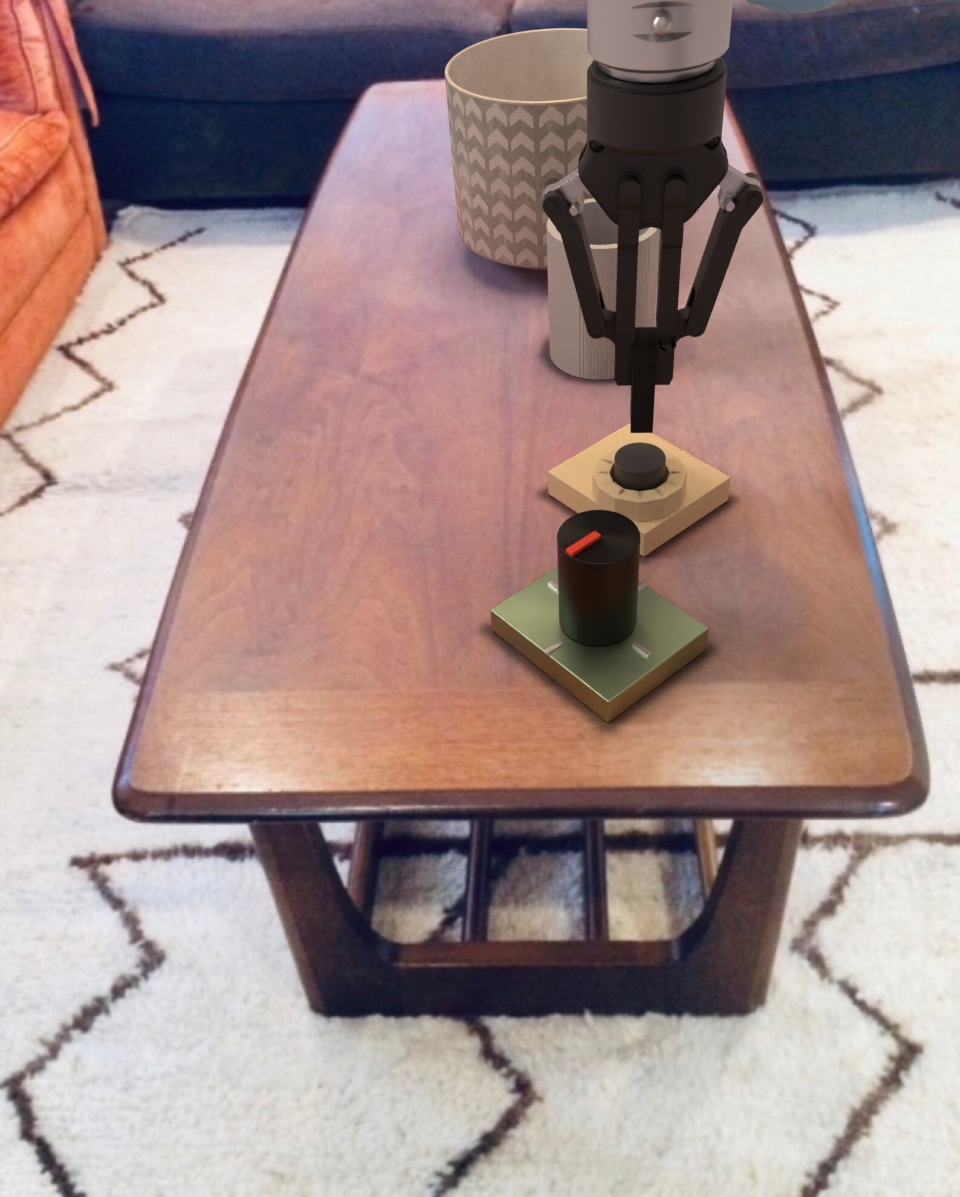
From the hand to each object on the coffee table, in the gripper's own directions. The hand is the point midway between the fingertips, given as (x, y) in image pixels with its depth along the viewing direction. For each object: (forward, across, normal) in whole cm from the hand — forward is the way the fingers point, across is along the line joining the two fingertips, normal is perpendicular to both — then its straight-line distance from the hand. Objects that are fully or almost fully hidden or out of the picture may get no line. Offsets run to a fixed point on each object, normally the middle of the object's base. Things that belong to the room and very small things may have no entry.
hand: (641, 421), depth 75 cm
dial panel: (+8, -3, -13) cm, 16 cm away
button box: (+8, 0, +2) cm, 9 cm away
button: (+5, 0, 0) cm, 5 cm away
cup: (+9, -3, +22) cm, 24 cm away
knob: (+6, -3, -13) cm, 15 cm away
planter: (+9, -8, +42) cm, 43 cm away
